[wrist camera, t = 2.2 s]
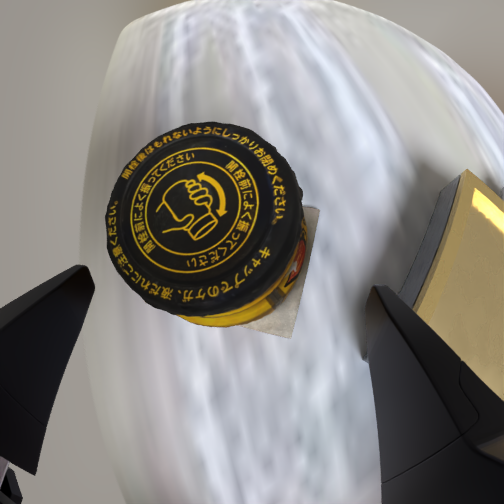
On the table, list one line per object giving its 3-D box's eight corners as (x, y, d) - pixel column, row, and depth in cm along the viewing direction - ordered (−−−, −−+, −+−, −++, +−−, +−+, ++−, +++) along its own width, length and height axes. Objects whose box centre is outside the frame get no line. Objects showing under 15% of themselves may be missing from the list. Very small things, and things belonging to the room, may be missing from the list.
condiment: (180, 309, 18) (50, 297, 6) (215, 189, 20) (152, 59, 8) (290, 338, 17) (321, 388, 5) (319, 211, 19) (368, 81, 7)
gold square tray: (480, 424, 14) (508, 436, 10) (362, 359, 16) (384, 371, 12) (542, 244, 16) (567, 233, 12) (450, 156, 19) (473, 132, 15)
